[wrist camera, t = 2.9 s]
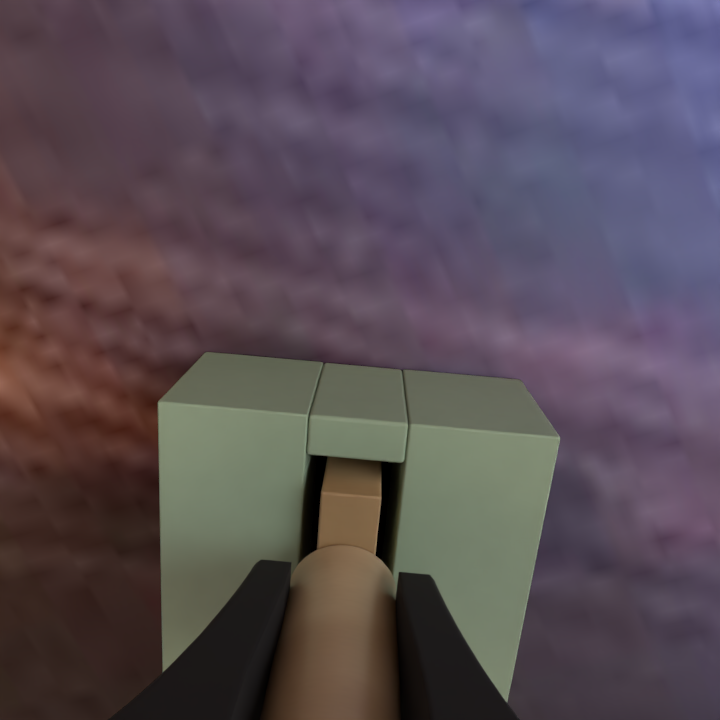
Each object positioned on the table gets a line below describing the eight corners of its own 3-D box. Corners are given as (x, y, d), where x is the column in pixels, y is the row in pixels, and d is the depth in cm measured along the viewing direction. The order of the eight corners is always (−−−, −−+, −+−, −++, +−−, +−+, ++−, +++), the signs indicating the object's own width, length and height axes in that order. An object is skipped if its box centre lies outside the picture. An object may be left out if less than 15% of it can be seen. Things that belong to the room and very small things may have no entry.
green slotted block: (521, 379, 15) (561, 437, 12) (450, 788, 19) (465, 917, 16) (205, 351, 15) (156, 401, 12) (202, 766, 19) (165, 890, 16)
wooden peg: (400, 420, 16) (422, 681, 8) (384, 563, 17) (388, 916, 9) (316, 412, 16) (249, 665, 8) (306, 556, 17) (239, 903, 9)
